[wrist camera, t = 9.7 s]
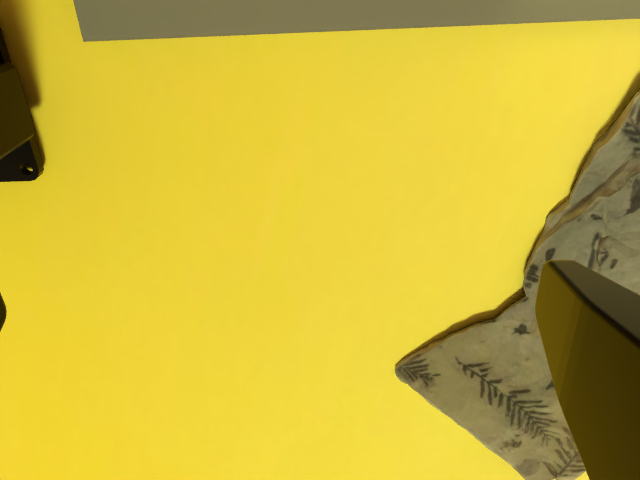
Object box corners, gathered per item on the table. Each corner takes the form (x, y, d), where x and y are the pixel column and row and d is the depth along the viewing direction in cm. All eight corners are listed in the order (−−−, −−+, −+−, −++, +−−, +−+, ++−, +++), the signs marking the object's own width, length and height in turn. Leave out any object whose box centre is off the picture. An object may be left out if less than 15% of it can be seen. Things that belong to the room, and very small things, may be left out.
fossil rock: (544, 468, 31) (558, 507, 29) (347, 328, 27) (347, 362, 25) (868, 276, 24) (917, 309, 22) (673, 42, 20) (712, 56, 18)
